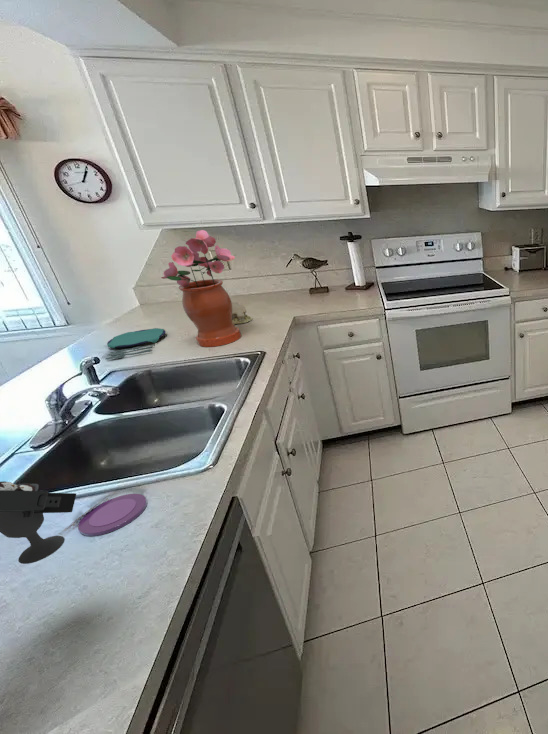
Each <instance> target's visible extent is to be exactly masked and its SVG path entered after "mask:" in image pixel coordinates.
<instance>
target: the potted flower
mask: <svg viewBox="0 0 548 734" xmlns="http://www.w3.org/2000/svg"><path fill="white" fill-rule="evenodd" d="M216 243H217V240H216V238H215V237H213V236H211V235H210V234H209V233H208V231H206V230H204V229H200V230H197V231H196V234H195V237H193V238H192V237H191V238H189V239H188V240H187V241H186V242H185V245H179V246H177V247H175V248H174V252H172V254H171V256H170V257H171V259H172V261H171V262H170V261H169V262H168V267H169V268H166V269H165V270H164V271H163V273H162V275H163V276H161V277H160V278H161V279H163V280H164V279H168V280H170V281H176V283H177V284H178V285H179V286H178V288H177V289H178V290H179V291H181V292H182V296H181V304H182V308H183V310H184V313H185V314H186V317H188V319H189V320H190V321H191V322H192V323H193V324H194V326H195V328H196V329H197V335H196V336H195V339H196V342H197V344H198V346H200V347H202V348H214V347H219V346H224V345H228V344H231V343H233V342H236V341H238V340H239V339H241V337H242V333H241V331H240V327H238V326H236V324H233V322H232V310H233V308H232V303H233V302H232V298H231V297H230V295H229V293H228V292H227V290H225V288H224V286H223V283H224V281H223V279H218V278H217V279H216V278H214V276H213V274H212V272H213V273H215V274H221V273H222V272H223V270H225V264H223V262H232V261H233V260H235V258H236V257H235V255H232V252H231V250H230V249H229V248H223V247H220V246H219V245H218V244H216ZM215 244H216V245H215ZM186 245H187V246H188V247H187V246H186ZM212 247H214V252H215V255H216V256H214V257H212V258H210V259H208V257H207V255H206V254H208V253H209V248H212ZM199 252H200V253H202V254H203V255H204V256H200V253H199ZM175 263H176V264H177V265H178V266H182V267H187V268H190V269H191V272H192V275H193V278H194V280H193V279H191V278H190V277H189V275H191V272H190V271H188V270H178V267H177V266H176V265H175ZM197 266H198V269H193V268H192V267H197ZM201 267H203V268H201ZM205 268H206V269H205ZM204 269H205V271H206V274H207V276H209V277H211V278H209V279H204V276H203V274H205V271H202V270H204ZM194 272H200V274H201V278H202V279H201V280H197V279H196V277H195V274H194Z"/></svg>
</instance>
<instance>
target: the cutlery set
mask: <svg viewBox="0 0 548 734" xmlns="http://www.w3.org/2000/svg"><path fill="white" fill-rule="evenodd" d="M165 334H166V330H165V328H160V327H159V328H158V327H154V328H147V329H140V330H136V331H128V332H127V331H126V332H124V333H121V334H119V335H115V336H113V337H112V338H111V339H110V340H108V341H107V343H106V346H107V347H108V348H110V349H117V348H124V349H120V350H113V351H110V352H109V353H107V355H106V356H107V357H105V358H104V360H113V359H119V358H124V357H126V356H133V355H140V354H145V353H151V352H152V349H154V347H156V345H155V344H157V342H158V341H159V339H160V338H162V337H163V336H165ZM147 343H152V344H150V345H144V346H140V345H143V344H147ZM138 345H139V346H138ZM134 346H136V347H134ZM127 347H131V348H127Z"/></svg>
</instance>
